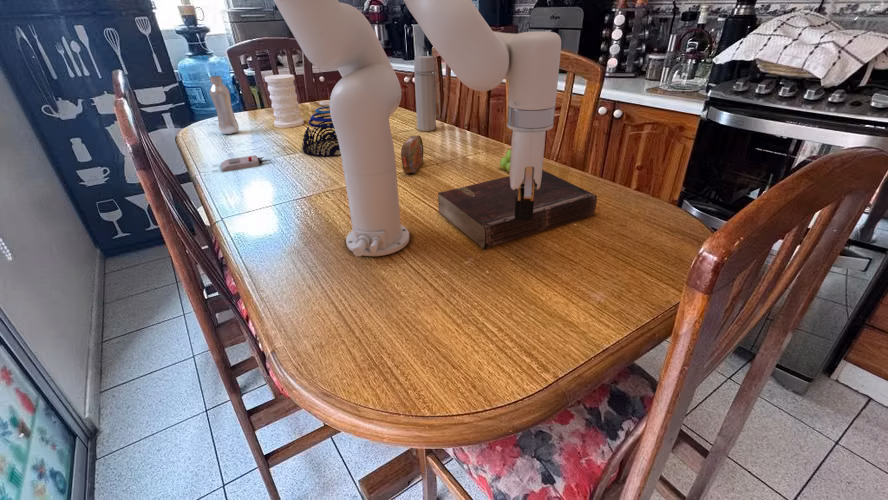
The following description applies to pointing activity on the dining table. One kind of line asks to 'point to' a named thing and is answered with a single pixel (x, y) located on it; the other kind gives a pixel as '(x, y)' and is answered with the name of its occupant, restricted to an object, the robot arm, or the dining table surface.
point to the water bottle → (425, 93)
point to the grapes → (506, 161)
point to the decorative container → (284, 100)
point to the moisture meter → (241, 163)
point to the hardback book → (513, 208)
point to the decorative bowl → (322, 127)
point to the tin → (412, 154)
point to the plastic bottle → (223, 106)
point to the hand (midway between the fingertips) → (523, 218)
